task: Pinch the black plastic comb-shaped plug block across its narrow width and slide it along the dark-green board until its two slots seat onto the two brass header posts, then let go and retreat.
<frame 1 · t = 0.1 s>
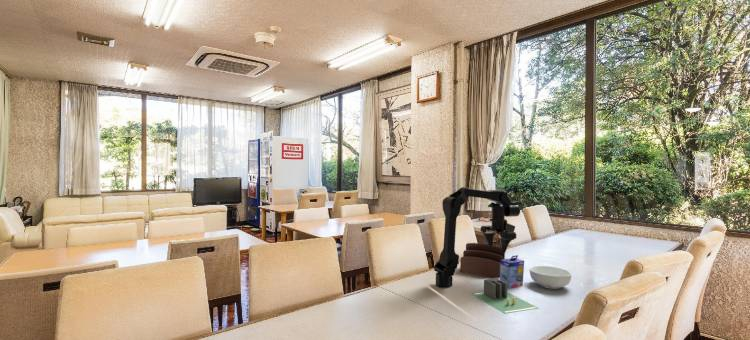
hand: (497, 250, 163), 15 cm above the table, fingers open, 9 cm apart
ink cartridge box: (511, 287, 156), on the table
cereal bowl: (549, 286, 159), on the table
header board: (503, 302, 138), on the table
letter holder: (482, 273, 176), on the table
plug: (495, 296, 142), point 1 cm above the table, touching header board
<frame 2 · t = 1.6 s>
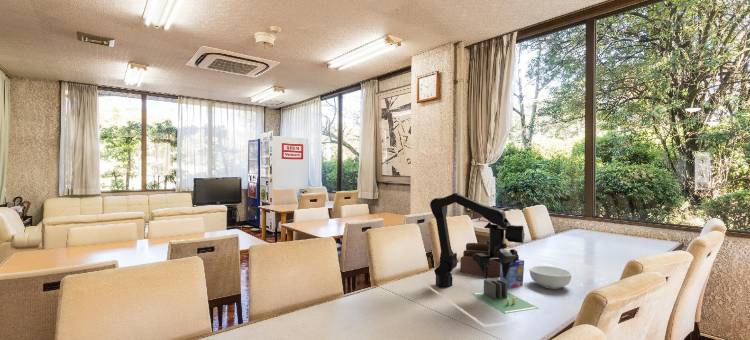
hand: (495, 278, 142), 8 cm above the table, fingers open, 9 cm apart
nothing on the table moved.
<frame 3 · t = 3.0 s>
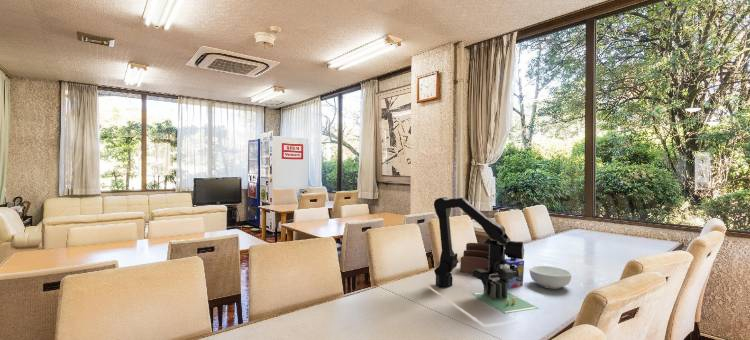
hand: (495, 293, 142), 2 cm above the table, fingers closed on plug, 6 cm apart
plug: (495, 296, 142), point 1 cm above the table, touching gripper, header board
everything else where it was.
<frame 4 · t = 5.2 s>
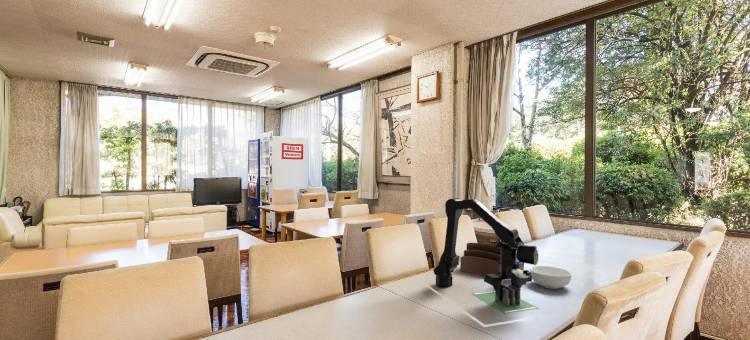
hand: (507, 299, 136), 2 cm above the table, fingers closed on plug, 6 cm apart
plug: (507, 302, 136), point 1 cm above the table, touching gripper
everything else where it was.
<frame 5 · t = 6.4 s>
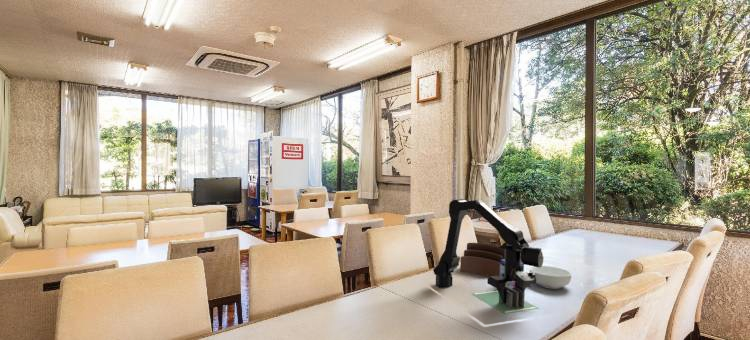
hand: (511, 302, 134), 2 cm above the table, fingers closed on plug, 6 cm apart
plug: (511, 304, 134), point 1 cm above the table, touching gripper, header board
everything else where it was.
when the fingers open (2 cm above the table, at t = 7.3 s): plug stays where it is, resting on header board.
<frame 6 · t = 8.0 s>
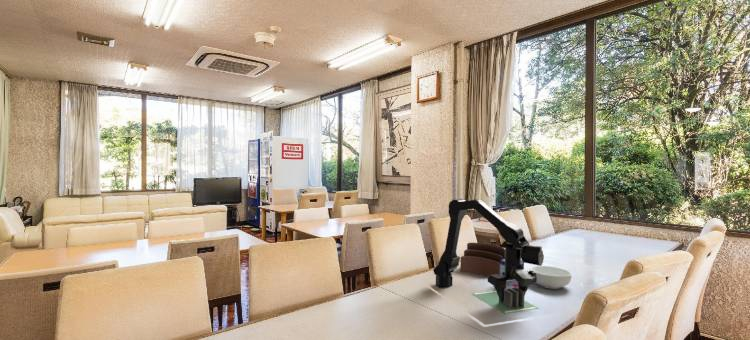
hand: (511, 300, 133), 2 cm above the table, fingers open, 9 cm apart
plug: (511, 304, 134), point 1 cm above the table, touching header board
everything else where it was.
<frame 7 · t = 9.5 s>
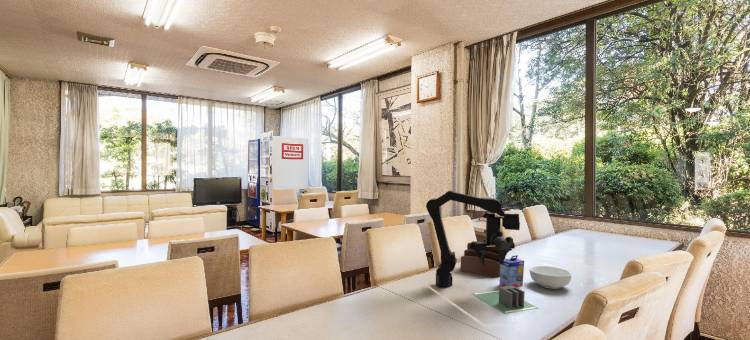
hand: (492, 265, 147), 12 cm above the table, fingers open, 9 cm apart
nothing on the table moved.
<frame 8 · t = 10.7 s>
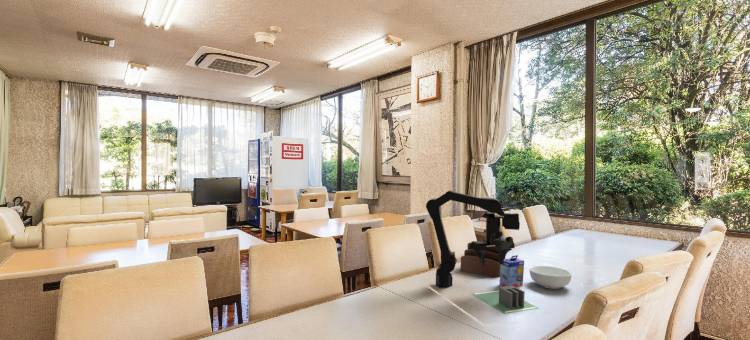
hand: (492, 265, 148), 12 cm above the table, fingers open, 9 cm apart
at the end: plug 0.3 cm from the target spot on the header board, point 0.8 cm above the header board's base; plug tilted 0°; the gripper is holding nothing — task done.
